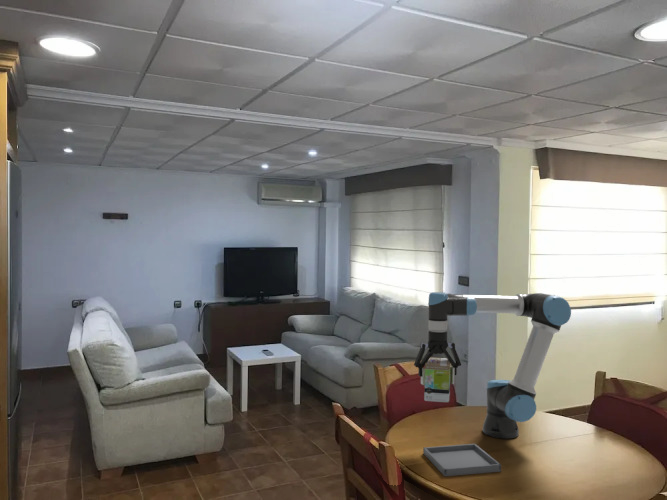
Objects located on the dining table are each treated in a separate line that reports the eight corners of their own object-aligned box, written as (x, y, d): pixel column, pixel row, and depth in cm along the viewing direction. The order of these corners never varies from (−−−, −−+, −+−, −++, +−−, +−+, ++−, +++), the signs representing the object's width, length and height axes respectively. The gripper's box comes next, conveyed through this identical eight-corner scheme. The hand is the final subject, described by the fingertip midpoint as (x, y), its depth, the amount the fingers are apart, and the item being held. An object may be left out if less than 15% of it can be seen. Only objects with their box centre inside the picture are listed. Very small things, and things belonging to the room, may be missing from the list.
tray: (474, 449, 218) (474, 443, 218) (501, 471, 197) (501, 464, 197) (423, 453, 213) (423, 447, 213) (444, 476, 193) (444, 469, 193)
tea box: (449, 403, 210) (449, 365, 210) (423, 401, 213) (423, 364, 212) (450, 392, 225) (450, 357, 225) (425, 391, 227) (425, 356, 227)
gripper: (462, 328, 224) (462, 380, 224) (406, 329, 220) (406, 382, 221) (469, 331, 217) (469, 385, 217) (411, 332, 213) (411, 387, 213)
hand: (437, 383), depth 219 cm, fingers closed on tea box, 12 cm apart
